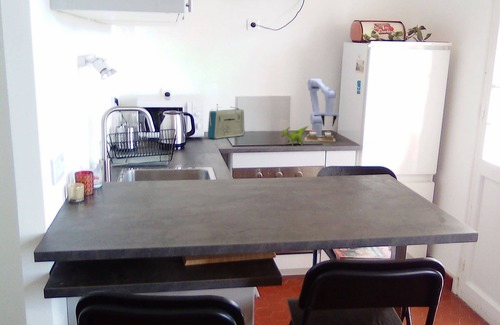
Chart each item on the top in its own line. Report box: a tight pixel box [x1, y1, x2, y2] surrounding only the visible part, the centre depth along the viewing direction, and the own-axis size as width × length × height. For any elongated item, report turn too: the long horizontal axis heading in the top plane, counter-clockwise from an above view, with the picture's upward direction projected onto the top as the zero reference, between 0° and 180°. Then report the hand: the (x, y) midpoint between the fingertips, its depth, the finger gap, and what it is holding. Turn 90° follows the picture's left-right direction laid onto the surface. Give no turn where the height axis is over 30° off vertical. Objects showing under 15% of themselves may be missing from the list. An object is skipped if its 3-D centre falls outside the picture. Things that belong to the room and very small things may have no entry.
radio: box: [207, 103, 246, 140], centre depth 354 cm, size 30×8×25 cm, turn 131°
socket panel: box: [303, 133, 336, 144], centre depth 351 cm, size 12×22×4 cm, turn 81°
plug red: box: [309, 129, 316, 136], centre depth 351 cm, size 4×4×4 cm
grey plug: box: [324, 130, 332, 137], centre depth 349 cm, size 4×4×4 cm
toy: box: [280, 125, 309, 146], centre depth 333 cm, size 8×21×15 cm, turn 115°
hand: (328, 125), depth 352 cm, fingers open, 6 cm apart
